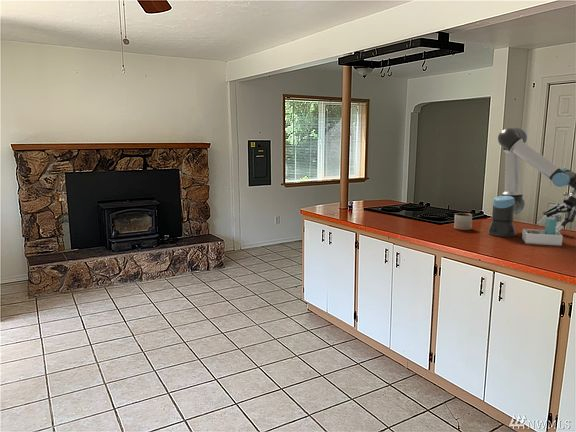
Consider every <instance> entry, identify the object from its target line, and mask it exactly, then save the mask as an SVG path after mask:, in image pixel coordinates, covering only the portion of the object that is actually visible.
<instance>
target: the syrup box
mask: <svg viewBox="0 0 576 432" xmlns="http://www.w3.org/2000/svg"><path fill="white" fill-rule="evenodd" d="M562 215H563V214H562V212H561V213H557V214H554V215H552V216H550V217H548V219H550V220H556V226H557V225H558V224H559V223H560V222H561V221H562ZM548 219H547V220H548ZM556 230H557V229H556ZM558 232H559V233H560V234H561V230H560V231H558Z"/></svg>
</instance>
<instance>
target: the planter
mask: <svg viewBox="0 0 576 432" xmlns="http://www.w3.org/2000/svg"><path fill="white" fill-rule="evenodd" d="M453 225H454V226H453V228H454V229H456V230H458V231H470V230H472V227H473V214H472V213H465V212H464V213H462V212H458V213H455V214H454V223H453Z"/></svg>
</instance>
